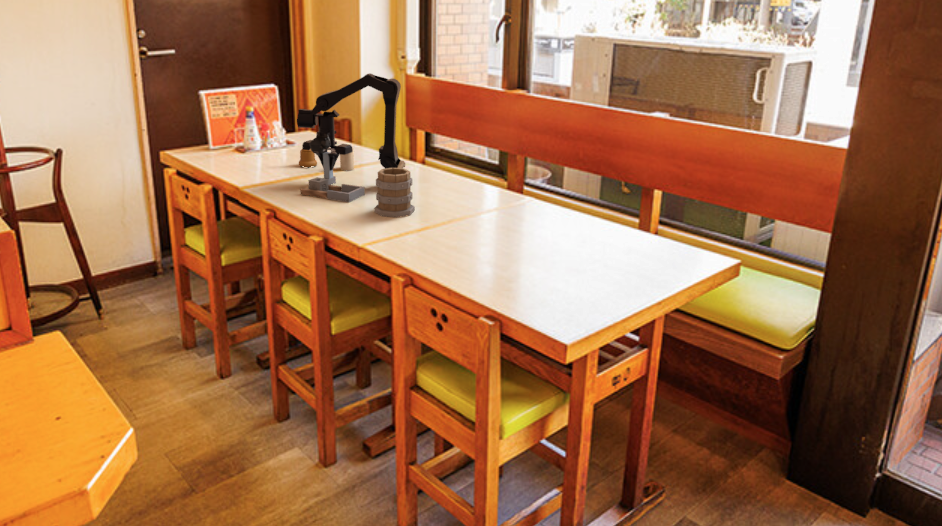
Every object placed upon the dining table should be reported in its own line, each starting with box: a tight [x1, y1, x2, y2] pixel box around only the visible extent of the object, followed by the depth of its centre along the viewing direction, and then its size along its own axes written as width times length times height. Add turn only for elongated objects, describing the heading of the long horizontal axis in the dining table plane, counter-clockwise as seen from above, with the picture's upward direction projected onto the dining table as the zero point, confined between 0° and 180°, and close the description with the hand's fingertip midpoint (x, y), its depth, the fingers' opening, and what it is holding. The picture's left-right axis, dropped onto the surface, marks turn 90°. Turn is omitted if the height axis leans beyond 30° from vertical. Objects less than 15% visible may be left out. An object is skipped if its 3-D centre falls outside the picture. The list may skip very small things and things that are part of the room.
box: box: [326, 183, 366, 203], centre depth 269 cm, size 9×10×3 cm
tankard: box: [373, 160, 416, 218], centre depth 255 cm, size 20×13×15 cm, turn 168°
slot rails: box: [300, 184, 342, 199], centre depth 273 cm, size 11×10×2 cm
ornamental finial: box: [298, 148, 318, 167], centre depth 309 cm, size 8×8×8 cm
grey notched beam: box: [322, 151, 337, 185], centre depth 283 cm, size 2×6×12 cm, turn 157°
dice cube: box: [308, 177, 329, 192], centre depth 272 cm, size 5×5×5 cm
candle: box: [339, 146, 355, 172], centre depth 305 cm, size 6×6×10 cm
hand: (328, 169), depth 283 cm, fingers closed on grey notched beam, 2 cm apart
